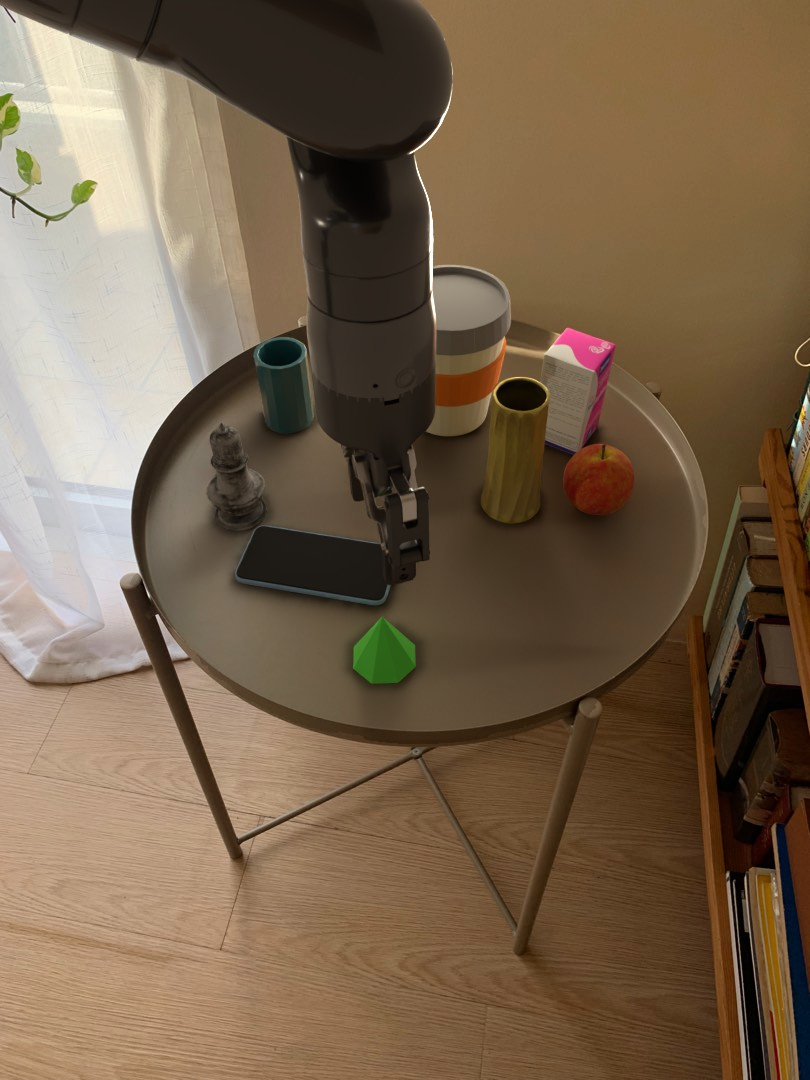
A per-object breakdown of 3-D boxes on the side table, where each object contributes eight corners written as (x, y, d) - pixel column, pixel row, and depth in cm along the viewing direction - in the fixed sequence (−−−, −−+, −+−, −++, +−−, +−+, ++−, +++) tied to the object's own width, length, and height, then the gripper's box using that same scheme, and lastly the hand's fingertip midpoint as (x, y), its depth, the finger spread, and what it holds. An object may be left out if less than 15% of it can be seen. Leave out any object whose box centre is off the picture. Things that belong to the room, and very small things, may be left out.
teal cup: (270, 438, 99) (259, 373, 92) (260, 407, 102) (248, 343, 95) (319, 427, 100) (311, 362, 93) (307, 397, 103) (299, 332, 97)
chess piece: (266, 533, 89) (248, 444, 80) (208, 533, 89) (184, 444, 80) (272, 491, 93) (256, 402, 84) (217, 491, 93) (195, 402, 84)
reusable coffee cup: (433, 363, 107) (435, 251, 96) (523, 401, 102) (535, 287, 91) (371, 419, 100) (364, 305, 89) (463, 462, 95) (469, 347, 84)
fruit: (633, 528, 89) (648, 471, 83) (564, 530, 89) (574, 472, 83) (621, 480, 93) (634, 422, 87) (555, 481, 93) (564, 423, 87)
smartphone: (256, 522, 89) (401, 545, 86) (257, 528, 89) (401, 550, 87) (230, 578, 84) (384, 603, 82) (232, 583, 85) (384, 609, 82)
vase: (472, 515, 90) (479, 406, 80) (491, 476, 94) (500, 367, 83) (530, 531, 89) (544, 422, 78) (547, 491, 92) (563, 381, 82)
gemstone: (340, 643, 80) (336, 602, 75) (401, 620, 82) (400, 579, 77) (366, 695, 76) (362, 655, 72) (429, 670, 78) (429, 630, 73)
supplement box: (578, 457, 96) (594, 372, 87) (529, 438, 98) (539, 354, 89) (600, 427, 99) (617, 342, 90) (552, 409, 101) (564, 325, 93)
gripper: (284, 301, 56) (309, 483, 68) (343, 444, 47) (359, 624, 59) (397, 280, 58) (401, 461, 70) (474, 414, 49) (464, 596, 61)
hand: (382, 536), depth 65 cm, fingers open, 8 cm apart
